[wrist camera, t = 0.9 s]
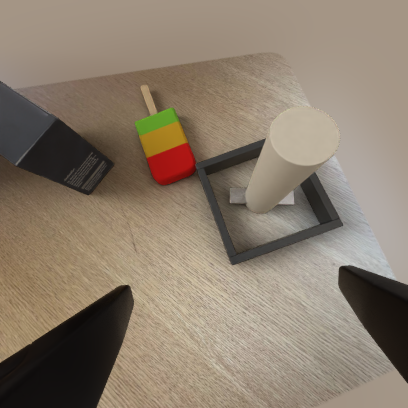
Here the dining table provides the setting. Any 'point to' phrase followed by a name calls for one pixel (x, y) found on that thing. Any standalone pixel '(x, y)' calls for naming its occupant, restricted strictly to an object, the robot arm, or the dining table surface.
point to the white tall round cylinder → (288, 158)
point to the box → (47, 144)
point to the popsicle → (165, 144)
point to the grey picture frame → (324, 215)
